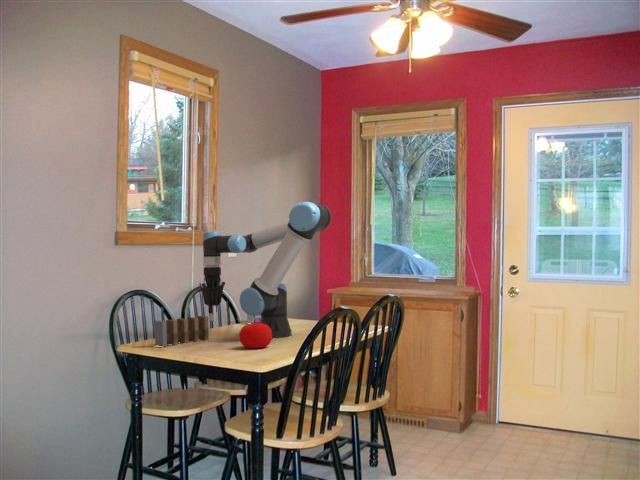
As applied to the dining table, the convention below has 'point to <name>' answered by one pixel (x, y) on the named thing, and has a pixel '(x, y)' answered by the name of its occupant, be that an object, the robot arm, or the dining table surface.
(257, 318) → the candy bar box
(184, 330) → the domino
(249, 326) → the tomato
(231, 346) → the dining table surface
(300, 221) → the robot arm
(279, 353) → the dining table surface
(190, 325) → the domino
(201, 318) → the domino
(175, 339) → the domino
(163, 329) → the domino
